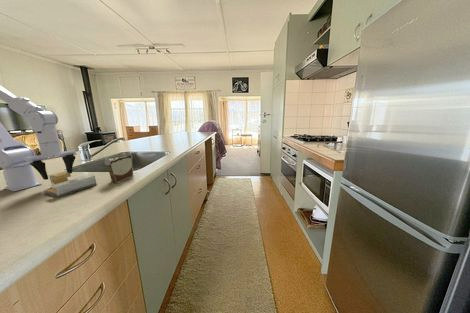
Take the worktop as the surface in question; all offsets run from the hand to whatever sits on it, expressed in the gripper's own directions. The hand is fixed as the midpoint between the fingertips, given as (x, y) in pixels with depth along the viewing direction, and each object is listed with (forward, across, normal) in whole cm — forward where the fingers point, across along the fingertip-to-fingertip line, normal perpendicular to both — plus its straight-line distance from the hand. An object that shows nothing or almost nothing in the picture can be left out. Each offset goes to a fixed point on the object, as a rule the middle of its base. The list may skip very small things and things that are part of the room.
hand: (58, 176), depth 73 cm
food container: (+4, +13, -17) cm, 22 cm away
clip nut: (+4, 0, -1) cm, 4 cm away
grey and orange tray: (+4, -1, -10) cm, 11 cm away
